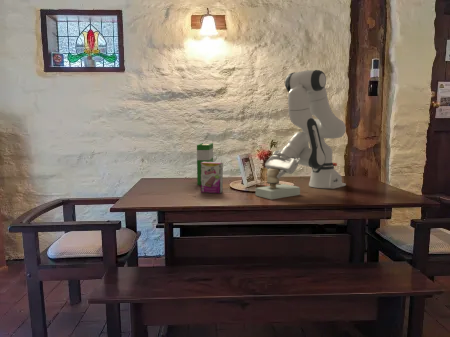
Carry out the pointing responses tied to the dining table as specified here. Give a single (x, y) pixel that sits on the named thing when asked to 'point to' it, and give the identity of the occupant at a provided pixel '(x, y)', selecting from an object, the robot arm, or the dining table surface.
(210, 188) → the candy bar box
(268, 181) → the peg
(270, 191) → the board
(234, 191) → the dining table surface
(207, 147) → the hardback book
